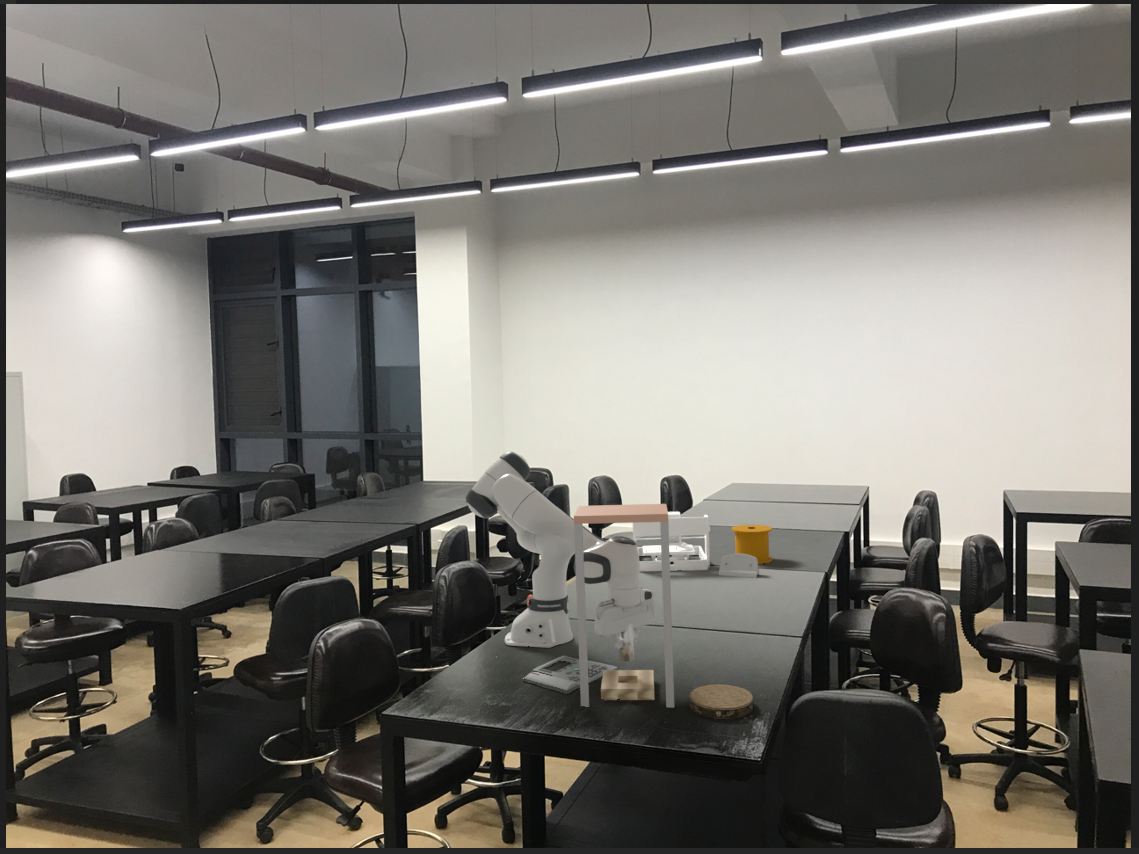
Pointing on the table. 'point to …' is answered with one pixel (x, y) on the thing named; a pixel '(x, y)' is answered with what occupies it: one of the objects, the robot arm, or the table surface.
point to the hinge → (739, 565)
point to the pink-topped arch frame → (584, 517)
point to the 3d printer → (675, 543)
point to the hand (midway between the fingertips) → (626, 645)
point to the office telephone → (567, 673)
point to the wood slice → (721, 701)
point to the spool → (753, 541)
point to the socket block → (627, 685)
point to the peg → (627, 644)
